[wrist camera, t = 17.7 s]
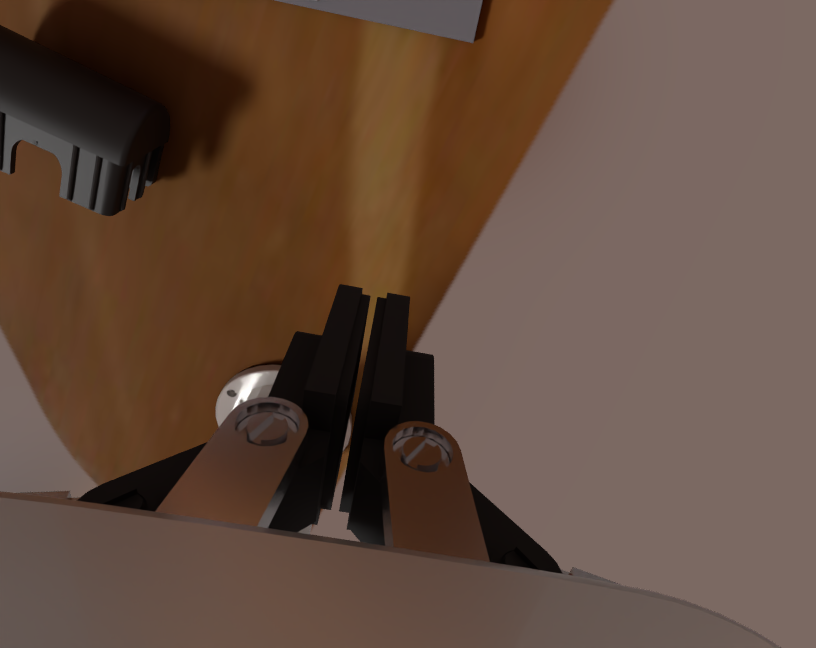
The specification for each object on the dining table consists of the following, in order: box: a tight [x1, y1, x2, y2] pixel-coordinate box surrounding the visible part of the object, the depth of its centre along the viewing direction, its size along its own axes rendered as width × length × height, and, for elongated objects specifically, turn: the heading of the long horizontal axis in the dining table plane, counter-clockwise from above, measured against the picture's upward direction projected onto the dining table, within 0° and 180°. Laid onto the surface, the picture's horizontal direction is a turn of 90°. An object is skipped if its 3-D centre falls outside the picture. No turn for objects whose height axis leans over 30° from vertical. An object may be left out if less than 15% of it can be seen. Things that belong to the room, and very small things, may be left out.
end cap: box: [0, 25, 170, 216], centre depth 32 cm, size 10×7×7 cm
